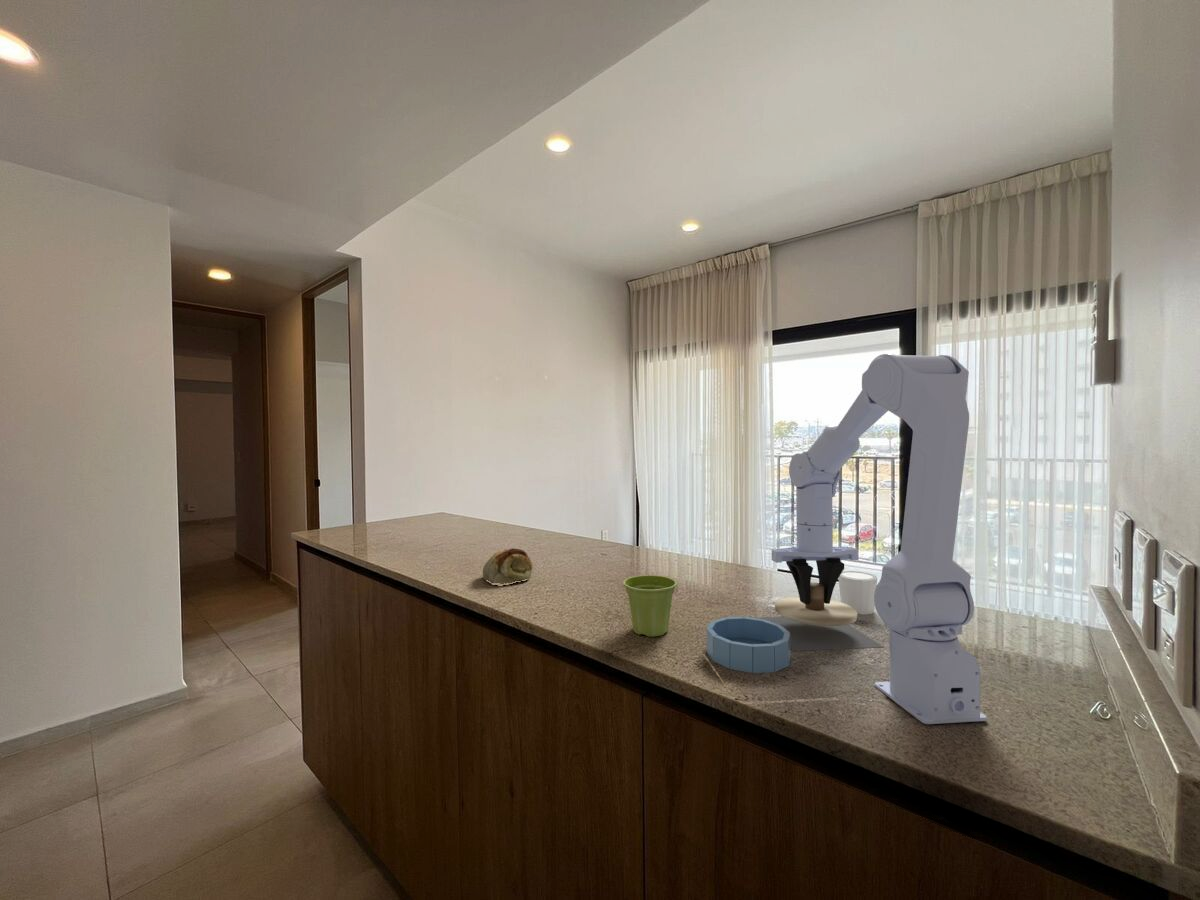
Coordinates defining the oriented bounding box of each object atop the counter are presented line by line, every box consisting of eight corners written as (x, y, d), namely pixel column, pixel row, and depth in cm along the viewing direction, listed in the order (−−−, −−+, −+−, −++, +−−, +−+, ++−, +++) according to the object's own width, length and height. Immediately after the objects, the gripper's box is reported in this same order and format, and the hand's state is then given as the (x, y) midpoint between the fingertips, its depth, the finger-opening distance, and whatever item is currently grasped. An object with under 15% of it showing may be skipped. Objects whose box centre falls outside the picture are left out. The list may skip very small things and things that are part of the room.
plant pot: (634, 644, 82) (633, 591, 82) (616, 624, 91) (616, 577, 91) (686, 637, 85) (685, 586, 84) (664, 619, 94) (664, 573, 94)
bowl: (804, 672, 71) (804, 644, 71) (722, 676, 70) (722, 647, 70) (769, 639, 83) (769, 615, 83) (698, 642, 82) (698, 618, 82)
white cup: (882, 617, 93) (882, 580, 93) (843, 615, 95) (843, 578, 95) (870, 606, 100) (870, 571, 100) (833, 604, 101) (833, 569, 101)
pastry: (513, 589, 114) (512, 554, 114) (469, 583, 119) (469, 550, 119) (545, 574, 127) (544, 543, 127) (504, 570, 132) (504, 539, 132)
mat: (884, 648, 79) (884, 646, 79) (793, 652, 78) (793, 650, 78) (832, 616, 94) (832, 614, 94) (755, 619, 93) (755, 617, 93)
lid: (874, 624, 80) (874, 594, 80) (796, 627, 79) (796, 597, 79) (830, 599, 93) (830, 573, 93) (762, 602, 92) (762, 576, 92)
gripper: (841, 519, 91) (841, 594, 91) (764, 521, 89) (764, 596, 89) (865, 525, 84) (865, 606, 84) (781, 527, 82) (782, 609, 82)
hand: (814, 602), depth 86 cm, fingers closed on lid, 3 cm apart
